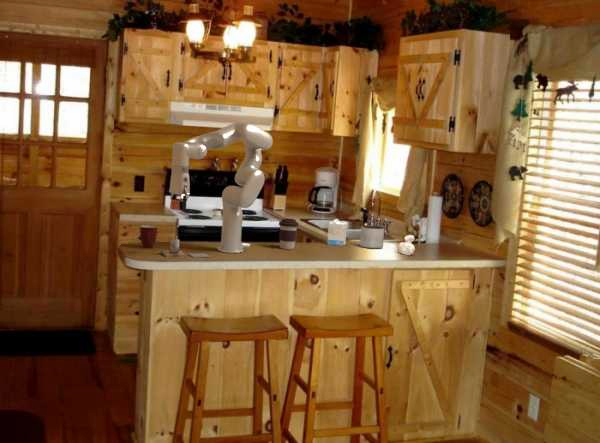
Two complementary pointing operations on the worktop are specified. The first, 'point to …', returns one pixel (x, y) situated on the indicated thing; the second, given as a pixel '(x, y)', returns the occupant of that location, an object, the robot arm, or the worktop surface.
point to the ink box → (337, 233)
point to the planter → (372, 237)
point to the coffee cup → (288, 233)
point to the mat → (198, 255)
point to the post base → (167, 253)
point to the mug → (148, 235)
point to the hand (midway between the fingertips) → (178, 208)
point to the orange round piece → (175, 204)
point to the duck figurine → (407, 246)
